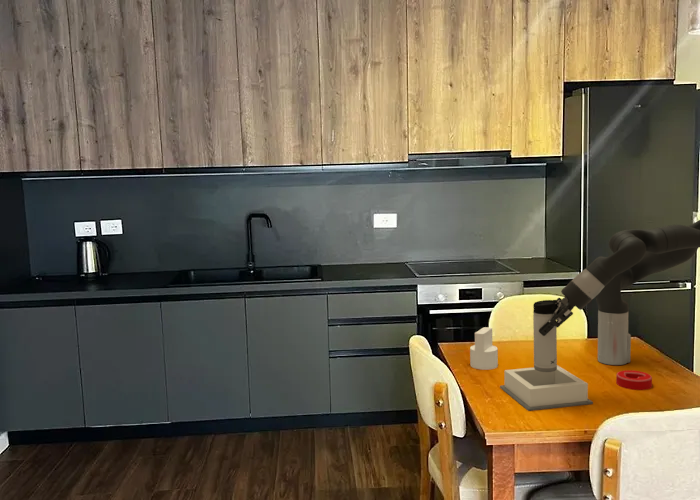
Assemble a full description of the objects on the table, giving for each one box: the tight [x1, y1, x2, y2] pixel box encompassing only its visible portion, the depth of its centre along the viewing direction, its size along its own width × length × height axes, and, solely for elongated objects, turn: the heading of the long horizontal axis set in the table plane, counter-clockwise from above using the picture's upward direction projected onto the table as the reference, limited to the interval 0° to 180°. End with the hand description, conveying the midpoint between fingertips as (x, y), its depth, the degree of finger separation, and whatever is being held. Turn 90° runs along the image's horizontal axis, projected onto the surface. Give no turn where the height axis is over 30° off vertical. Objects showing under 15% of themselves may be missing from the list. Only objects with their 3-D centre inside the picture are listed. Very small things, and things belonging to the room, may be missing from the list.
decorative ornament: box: [615, 369, 653, 391], centre depth 187 cm, size 10×10×3 cm
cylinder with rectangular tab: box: [469, 326, 499, 371], centre depth 209 cm, size 9×9×12 cm
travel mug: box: [532, 299, 558, 372], centre depth 178 cm, size 6×7×20 cm
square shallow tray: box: [499, 364, 594, 412], centre depth 180 cm, size 19×19×6 cm
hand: (539, 330), depth 178 cm, fingers closed on travel mug, 6 cm apart
